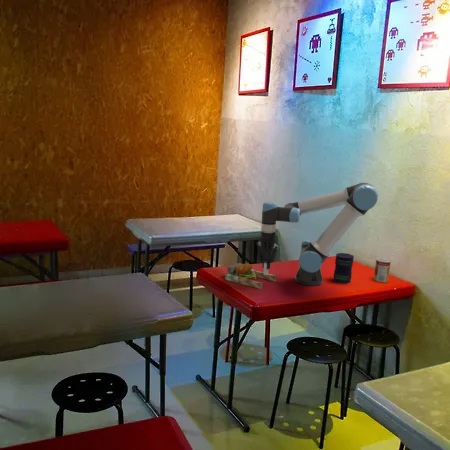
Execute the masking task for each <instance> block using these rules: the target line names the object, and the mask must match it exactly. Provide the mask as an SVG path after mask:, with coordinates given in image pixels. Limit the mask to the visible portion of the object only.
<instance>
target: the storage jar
mask: <svg viewBox="0 0 450 450" xmlns="http://www.w3.org/2000/svg"><path fill="white" fill-rule="evenodd" d="M354 257H355V256H354V255H353V254H350V253H344V252H338V253H336V255H335V260H334V261H335V262H334V264H335V267H334V270H333V272H334V273H333V279H332V280H333V282H335V283H338V284H342V285H343V284H345V285H346V284H351V282H352V281H351V280H352V273H353V272H352V270H353V269H352V268H353V265H354Z"/></svg>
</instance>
